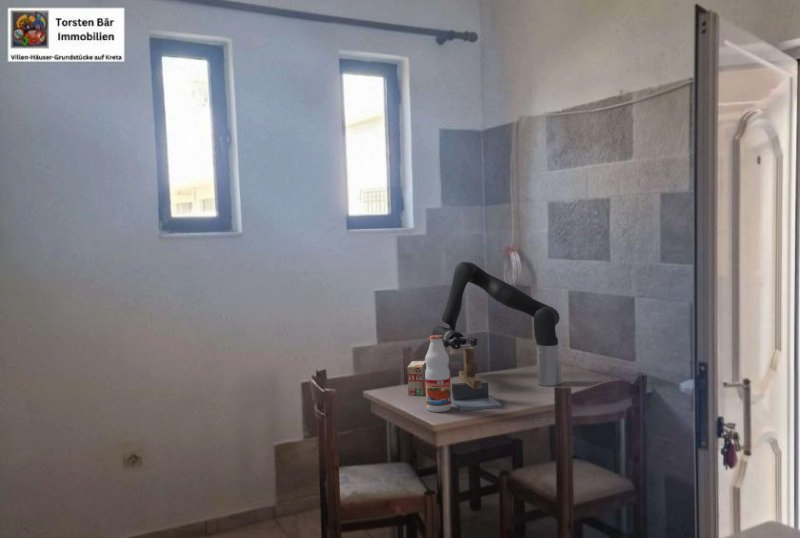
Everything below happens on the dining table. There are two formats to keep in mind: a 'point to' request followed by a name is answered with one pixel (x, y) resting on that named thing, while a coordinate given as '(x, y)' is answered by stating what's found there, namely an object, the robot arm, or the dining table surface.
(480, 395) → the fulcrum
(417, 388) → the cardboard food box
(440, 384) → the fruit juice
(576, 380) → the dining table surface
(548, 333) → the robot arm
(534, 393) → the dining table surface
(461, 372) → the walnut beam
